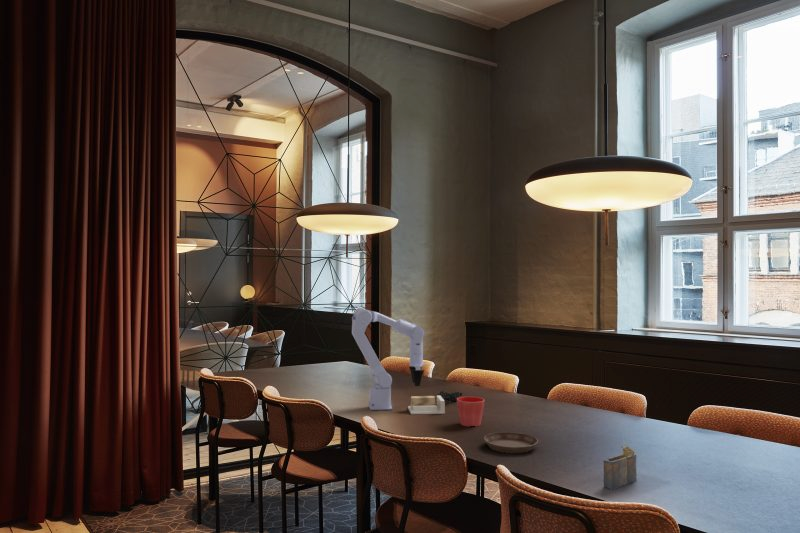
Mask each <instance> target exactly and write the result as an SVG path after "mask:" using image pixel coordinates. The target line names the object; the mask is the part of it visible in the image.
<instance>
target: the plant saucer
mask: <svg viewBox="0 0 800 533" xmlns="http://www.w3.org/2000/svg"><path fill="white" fill-rule="evenodd" d="M483 439H484V442H485V443H486V445H487V446H488V447H489V448H490V449H491V450H493V451H495V450H496V452H500V453H504V452H505V454H523V453H524V452H525V453H528V451H529V452H531V451H532V450H533V449H534V448H535V447H536V446H537V445H538V443H539V440H538V439H537V438H536V437H534V436H532V435H529V434H527V433H521V432H511V431H510V432H509V431H501V432H500V431H499V432H492V433H488V434H486V435H484V436H483Z"/></svg>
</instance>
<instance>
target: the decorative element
mask: <svg viewBox="0 0 800 533" xmlns="http://www.w3.org/2000/svg"><path fill="white" fill-rule="evenodd" d="M437 395H440V396H441V397H442V398H443V399H444V401H445V403H446V402H450V401H451V402H450V403H455V402H456V403H457V398H459V397H463V392H459V391H455V392H450V393H449V392H446V391H445V392H444V391H440V392H439V393H437V394H436V396H435V403H436V405H437Z"/></svg>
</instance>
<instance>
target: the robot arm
mask: <svg viewBox="0 0 800 533" xmlns="http://www.w3.org/2000/svg"><path fill="white" fill-rule="evenodd" d="M351 321H352V323H351V335H352V336H353V338H354V340H355V343H356V345H357V346H358V348H359V349H360V351H361V353H362V355H363V357H364V359H365V361H366V363H367V365H368V366H369V368H370V371H371V373H372V380H373V382H374V385H373V387H369V400H368V406H369V410H370V411H371V410H372V411H373V410H374V411H375V410H376V411H377V410H378V411H380V410H381V411H382V410H385V411H386V410H393V406H392V400H391V398H392V384H393V377H392V375H390V373H388V372H387V371H386V369H385V368H384V366H383V365H382V363H381V361H380V360H379V358H378V356H377V354H376V352H375V350H374V349H373V347H372V344H371V343H370V341H369V339H368V337H367V335H366V334H365V332H366V330H367V327H368V326H369V324H370V323H371V322H372V323H375V322H380V323H381V324H384V325H387V326H390V327H393V330H394V331H395V332H396V333H399V334H401V335H403V336H407V337H409V367H408V369H409V371H410V375H411V380H412V383H413V384H414V387H420V386H421V383H422V382H421V381H422V377H423V375H424V373H425V369H422V367H423V366H426V365H427V364H426V363H425V362H424V361H423V360H424V356H423V355H424V349H423V348H424V341H423V339H424V337H425V331H424V330H425V329H423V327H421V326H419V325H418V326H417V325H416V324H415V323H414V322H412V323H411V322H409V321H406V319H405V318H398V319H396V320H395V319H393V318H391V317H390V316H387V315H385V314H382V313H379V312H377V311H374V310H369V309H365V308H358V309H355V311H354V313H353V315H352V317H351Z"/></svg>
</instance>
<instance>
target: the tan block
mask: <svg viewBox="0 0 800 533" xmlns="http://www.w3.org/2000/svg"><path fill="white" fill-rule="evenodd" d="M435 398H436V396H435V395H420V396H419V395H416V396H414V395H413V396H412V395H411V396H410V406H411V410H413V406H433V405H436V404H437V403H435Z"/></svg>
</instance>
